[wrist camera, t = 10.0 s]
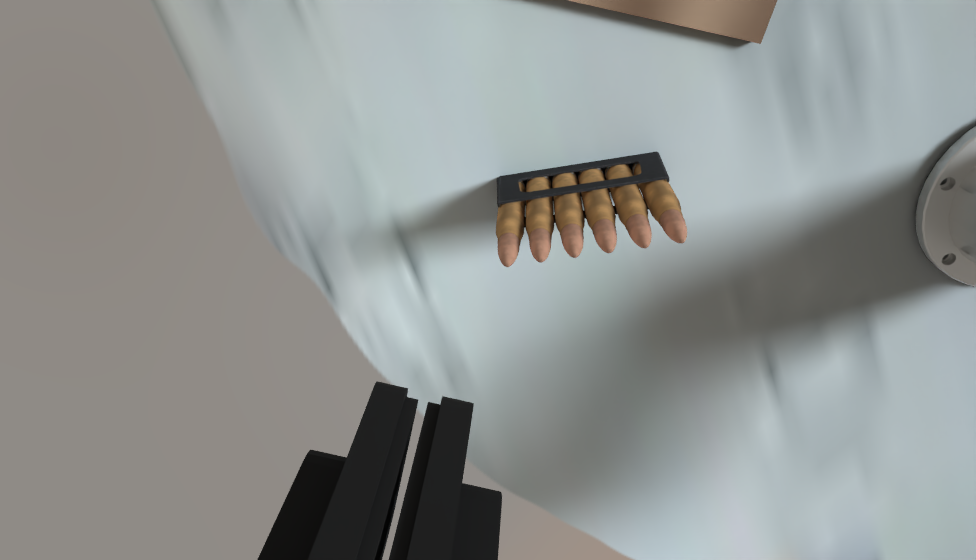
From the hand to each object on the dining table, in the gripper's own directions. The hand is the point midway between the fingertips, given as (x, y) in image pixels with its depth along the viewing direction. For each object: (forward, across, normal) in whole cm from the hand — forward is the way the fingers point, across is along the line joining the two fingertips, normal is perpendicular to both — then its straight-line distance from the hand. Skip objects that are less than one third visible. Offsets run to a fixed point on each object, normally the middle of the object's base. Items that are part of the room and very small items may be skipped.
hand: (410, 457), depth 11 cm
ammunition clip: (+34, -6, +5) cm, 34 cm away
